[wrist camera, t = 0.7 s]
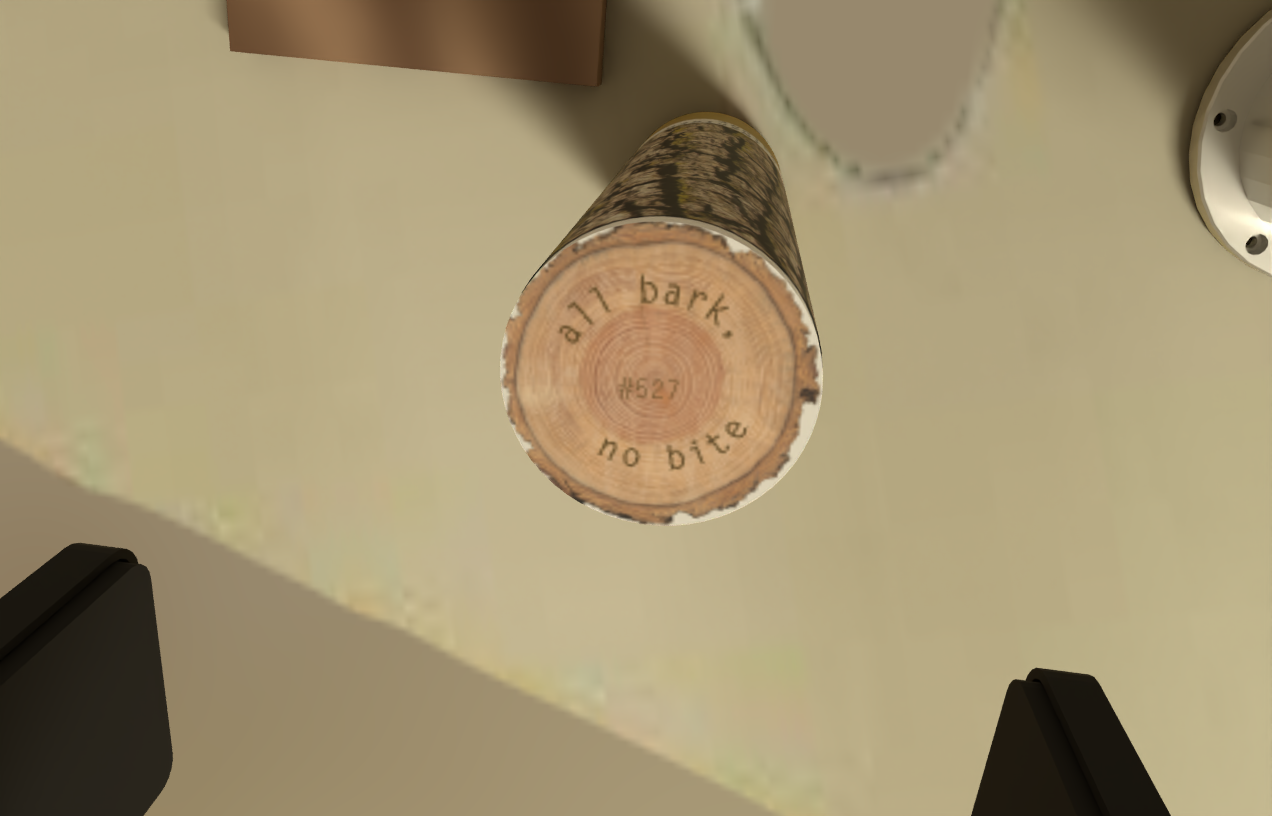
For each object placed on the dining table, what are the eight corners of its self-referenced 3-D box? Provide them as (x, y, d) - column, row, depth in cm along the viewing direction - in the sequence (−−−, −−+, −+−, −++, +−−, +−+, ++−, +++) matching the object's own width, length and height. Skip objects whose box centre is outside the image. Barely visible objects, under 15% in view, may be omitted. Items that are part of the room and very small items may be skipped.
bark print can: (630, 107, 42) (491, 213, 19) (787, 111, 42) (839, 226, 18) (629, 260, 45) (504, 516, 22) (776, 266, 44) (810, 536, 21)
